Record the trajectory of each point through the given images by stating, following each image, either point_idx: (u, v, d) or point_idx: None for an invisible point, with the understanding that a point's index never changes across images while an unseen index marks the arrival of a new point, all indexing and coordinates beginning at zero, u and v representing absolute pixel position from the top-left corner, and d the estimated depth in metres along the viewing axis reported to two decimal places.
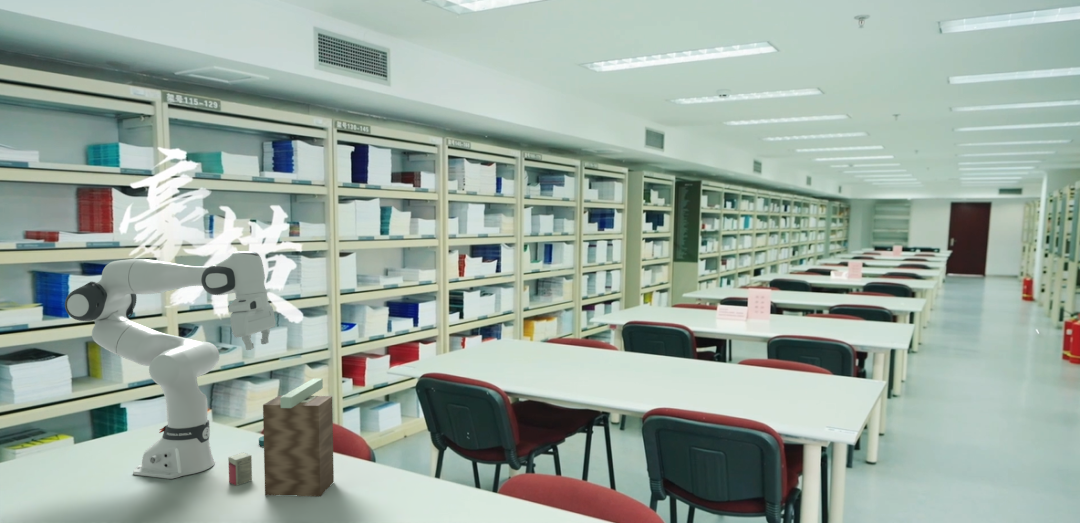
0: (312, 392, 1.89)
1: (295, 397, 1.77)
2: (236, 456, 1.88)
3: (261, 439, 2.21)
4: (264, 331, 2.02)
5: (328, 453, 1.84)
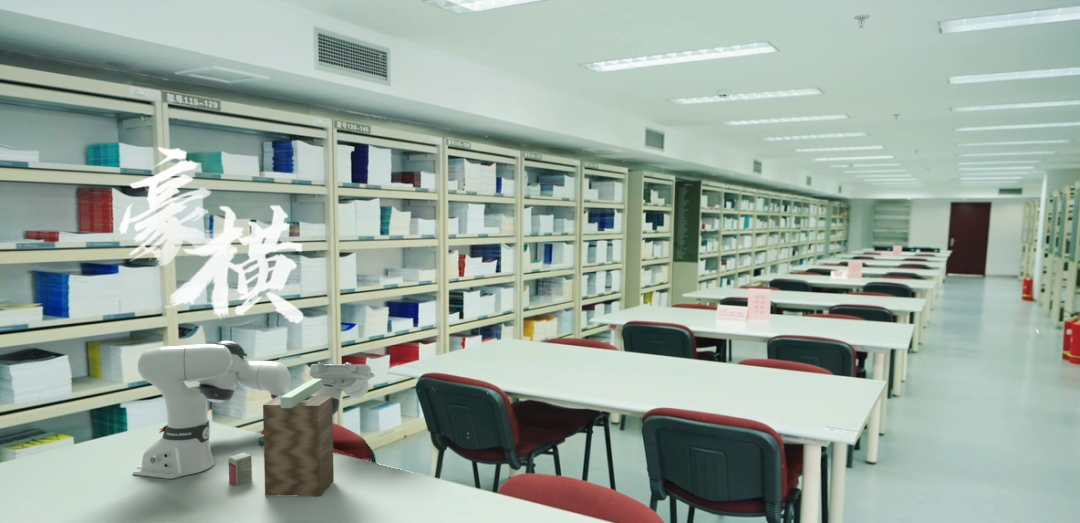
0: (312, 392, 1.89)
1: (295, 397, 1.77)
2: (236, 456, 1.88)
3: (261, 439, 2.21)
4: None
5: (328, 453, 1.84)
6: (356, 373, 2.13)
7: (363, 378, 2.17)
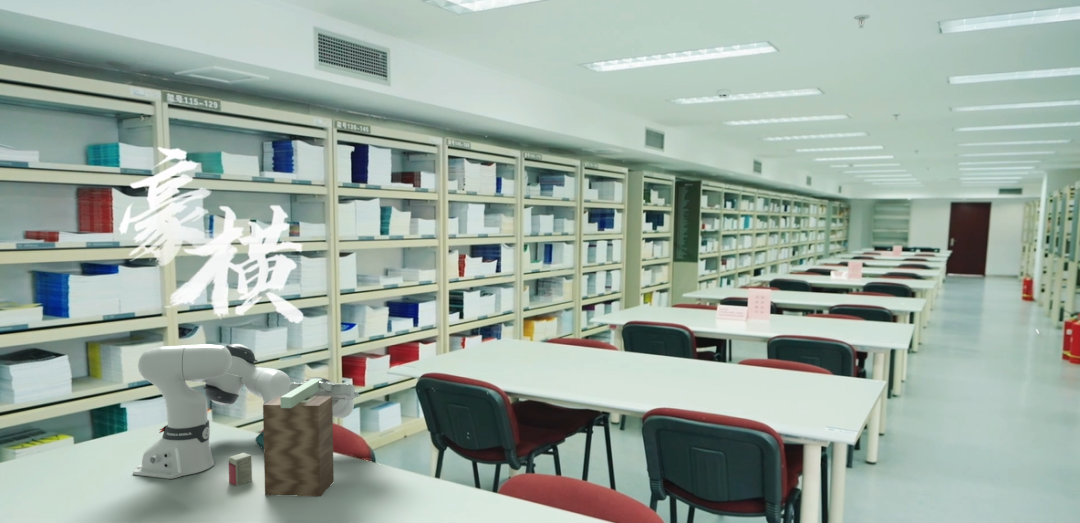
0: (312, 392, 1.89)
1: (295, 397, 1.77)
2: (236, 456, 1.88)
3: (257, 438, 2.20)
4: None
5: (328, 453, 1.84)
6: (338, 393, 1.97)
7: (346, 398, 2.00)
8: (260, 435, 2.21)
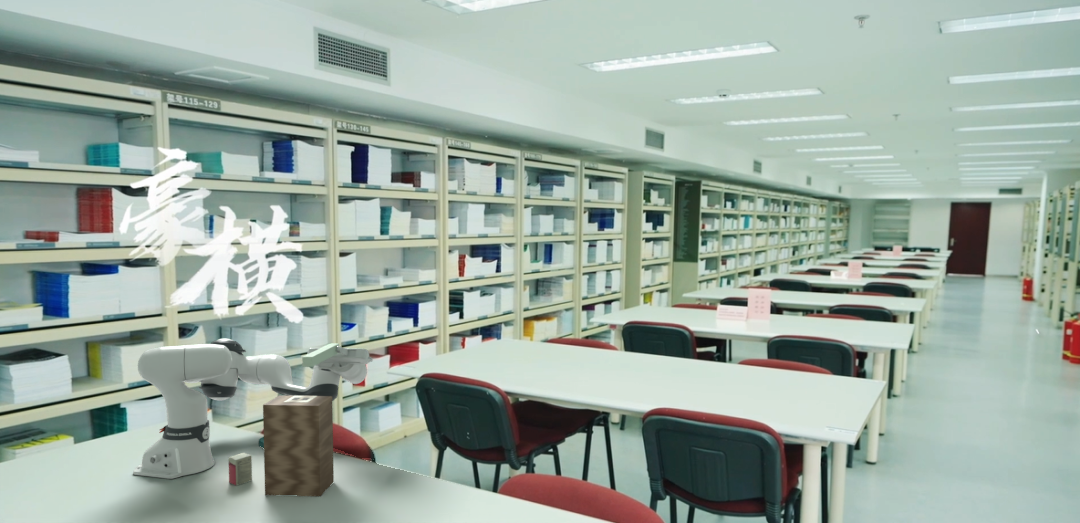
0: (330, 355, 2.03)
1: (316, 357, 1.91)
2: (236, 456, 1.88)
3: (261, 439, 2.21)
4: None
5: (328, 453, 1.84)
6: (354, 357, 2.10)
7: (361, 362, 2.14)
8: None
